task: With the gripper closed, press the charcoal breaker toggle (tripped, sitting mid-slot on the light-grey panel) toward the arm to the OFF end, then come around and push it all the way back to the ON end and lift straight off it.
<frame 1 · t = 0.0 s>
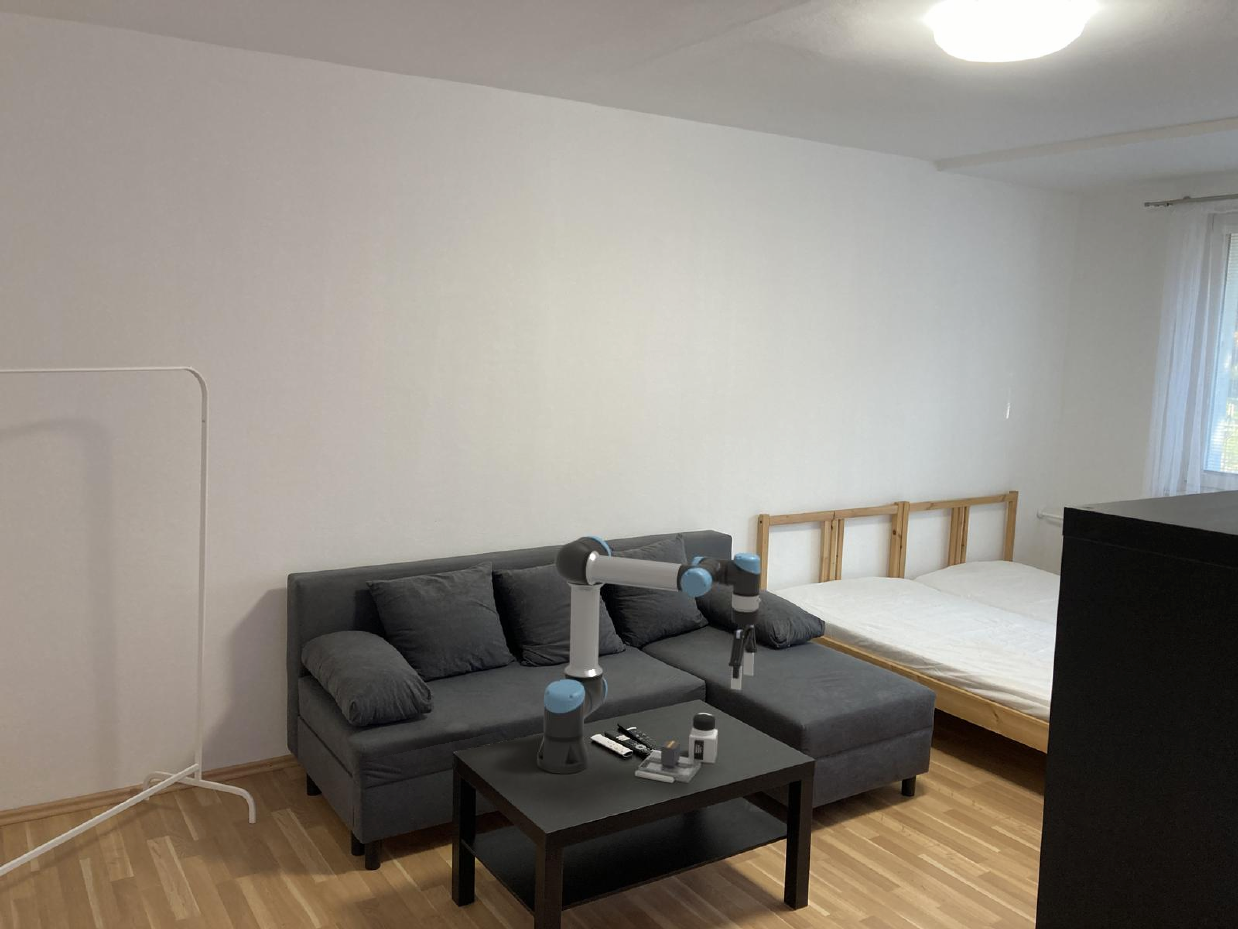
hand: (742, 681, 283), 28 cm above the table, fingers open, 13 cm apart
panel: (669, 770, 289), on the table
cord far: (659, 756, 299), on the table
toggle: (670, 752, 288), point 5 cm above the table, slide at 0.0 cm
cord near: (654, 779, 282), on the table
container: (702, 758, 299), on the table
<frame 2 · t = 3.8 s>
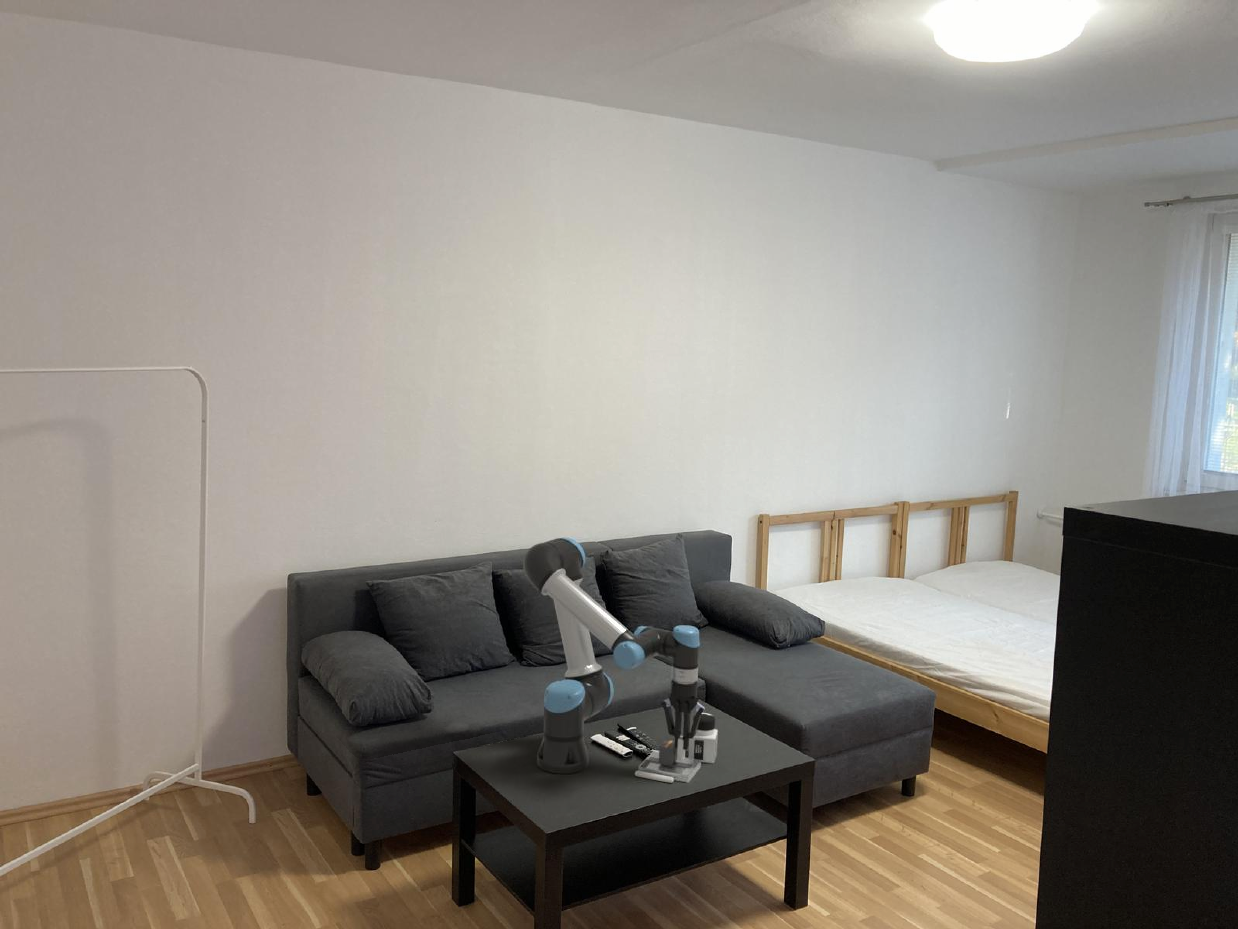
hand: (680, 759, 288), 4 cm above the table, fingers closed
toggle: (668, 752, 289), point 5 cm above the table, slide at -0.7 cm, touching gripper
everything else where it was.
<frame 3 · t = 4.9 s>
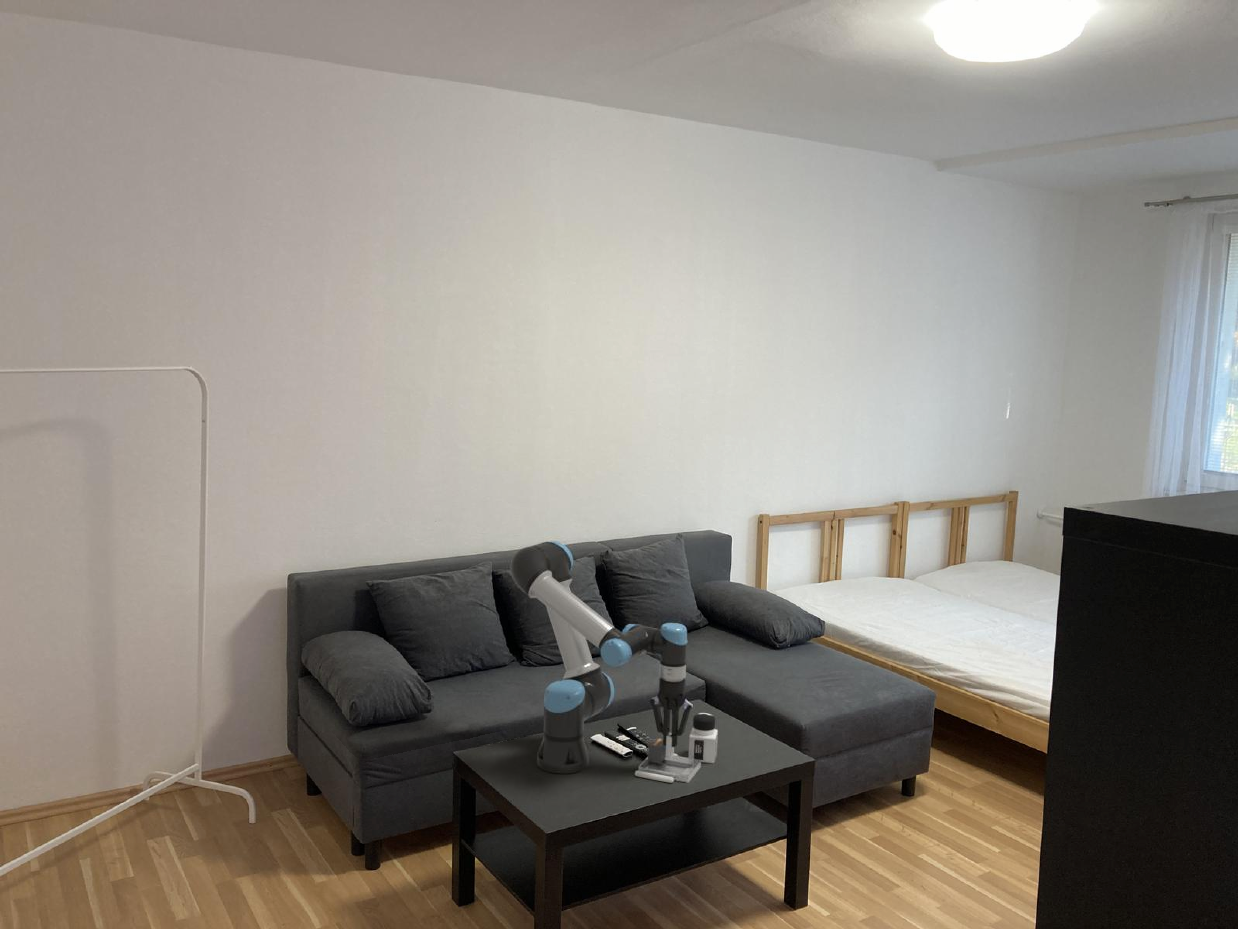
hand: (669, 756, 289), 4 cm above the table, fingers closed
toggle: (657, 750, 290), point 5 cm above the table, slide at -4.0 cm
everything else where it was.
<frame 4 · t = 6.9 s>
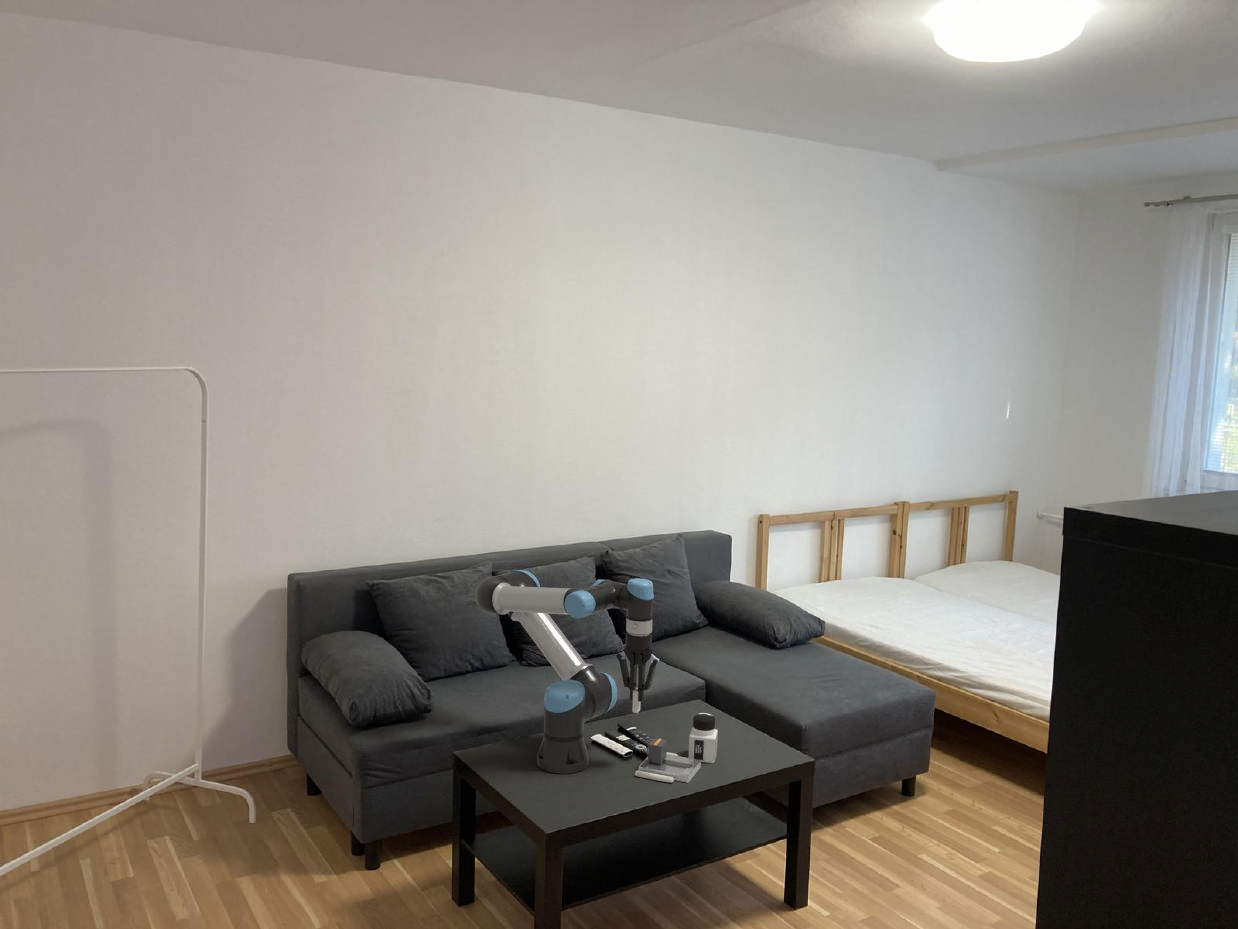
hand: (636, 711, 291), 16 cm above the table, fingers closed
nothing on the table moved.
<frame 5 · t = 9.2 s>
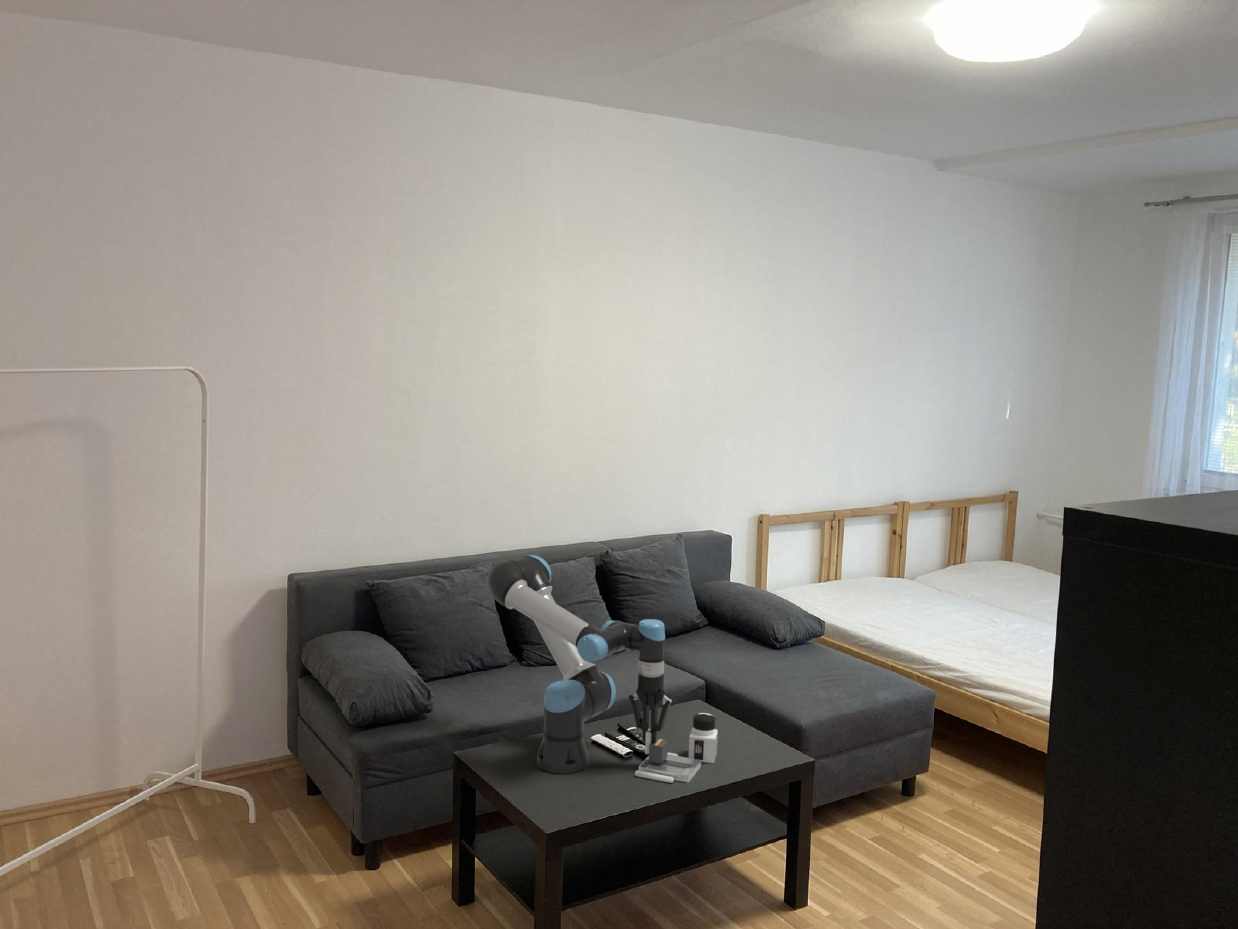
hand: (649, 752, 291), 4 cm above the table, fingers closed
toggle: (658, 750, 290), point 5 cm above the table, slide at -3.7 cm, touching gripper
everything else where it was.
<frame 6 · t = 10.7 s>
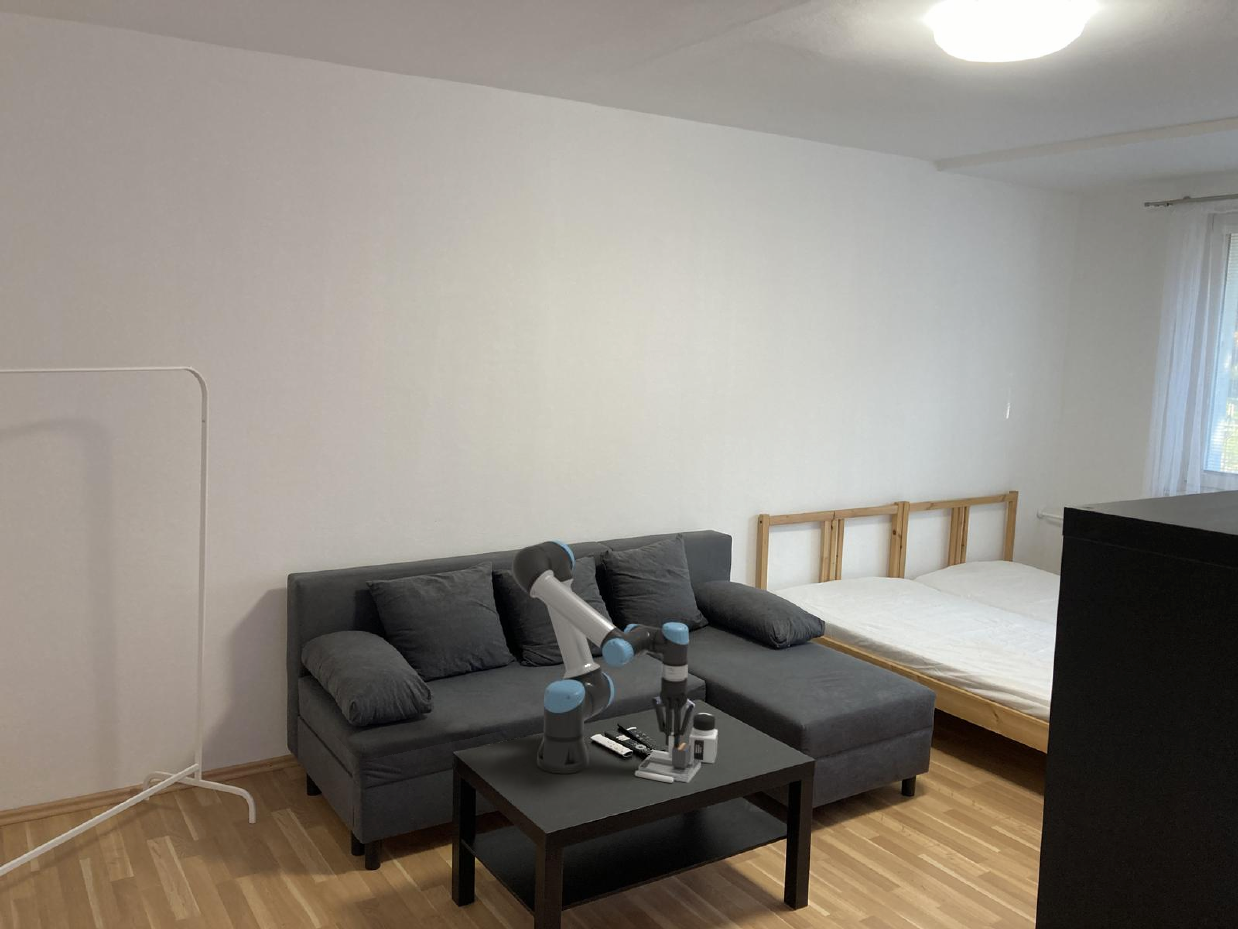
hand: (672, 756, 288), 4 cm above the table, fingers closed
toggle: (681, 754, 287), point 5 cm above the table, slide at 3.3 cm, touching gripper
everything else where it was.
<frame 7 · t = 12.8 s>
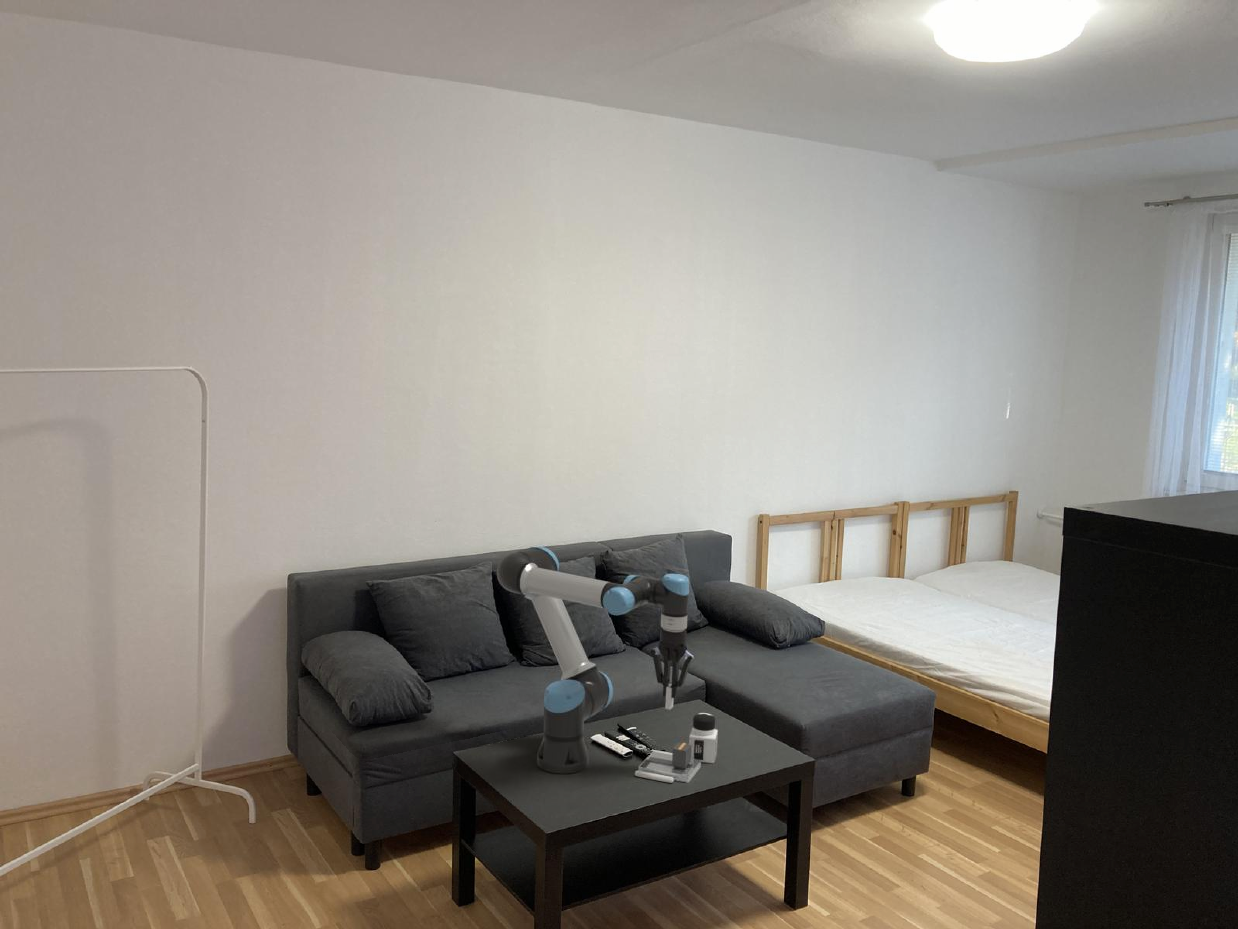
hand: (669, 707, 288), 18 cm above the table, fingers closed
toggle: (681, 754, 287), point 5 cm above the table, slide at 3.4 cm
everything else where it was.
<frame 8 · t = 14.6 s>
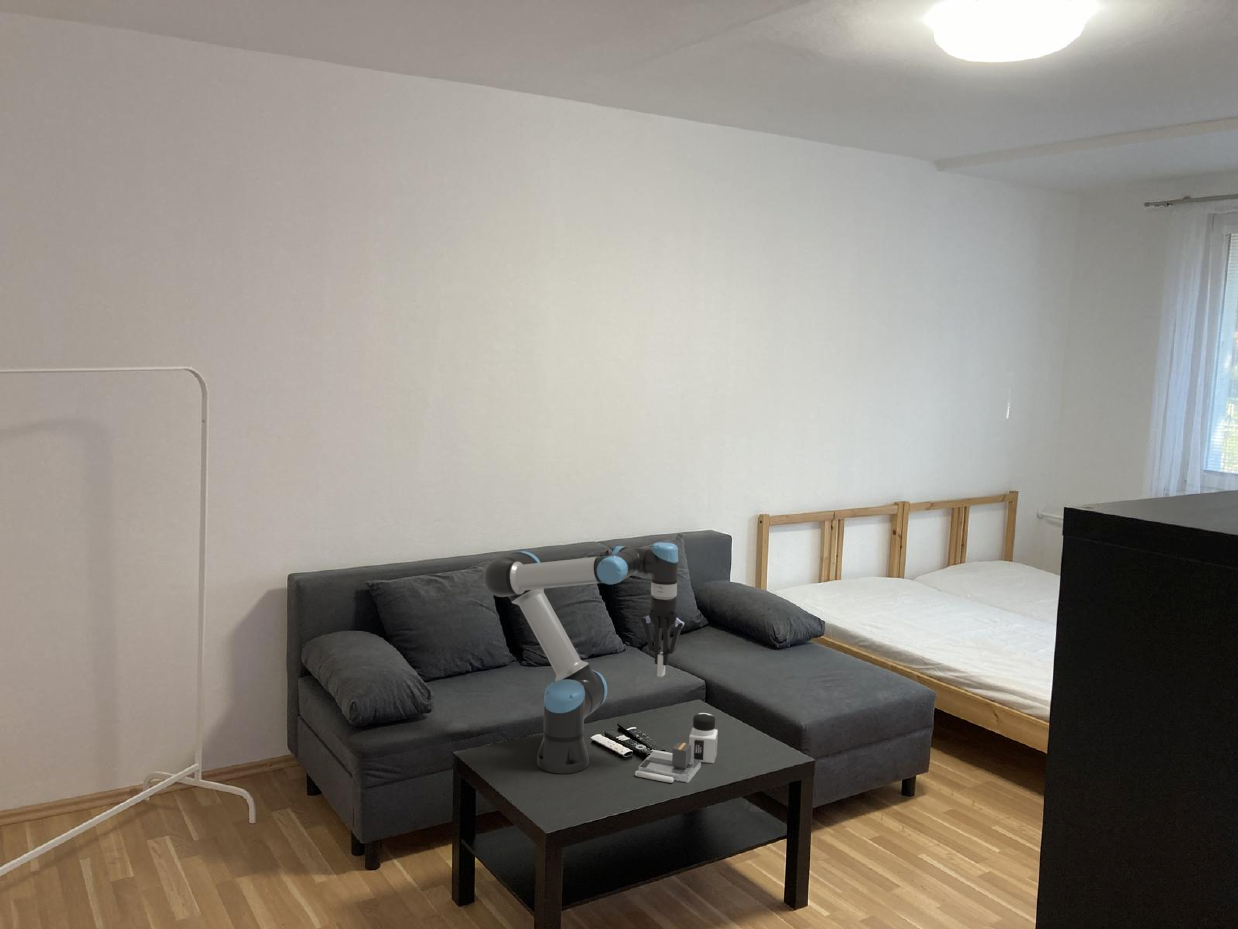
hand: (661, 675, 292), 26 cm above the table, fingers closed
nothing on the table moved.
at the end: toggle slide at 3.4 cm; toggle touching nothing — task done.
